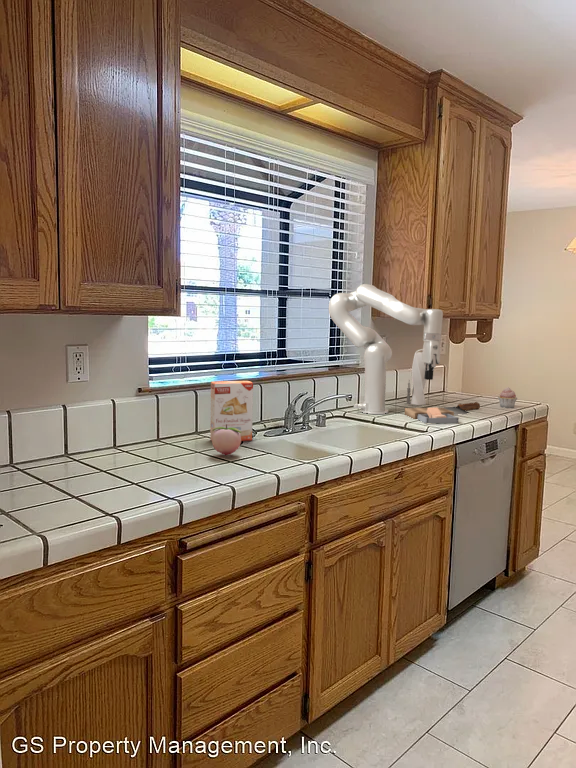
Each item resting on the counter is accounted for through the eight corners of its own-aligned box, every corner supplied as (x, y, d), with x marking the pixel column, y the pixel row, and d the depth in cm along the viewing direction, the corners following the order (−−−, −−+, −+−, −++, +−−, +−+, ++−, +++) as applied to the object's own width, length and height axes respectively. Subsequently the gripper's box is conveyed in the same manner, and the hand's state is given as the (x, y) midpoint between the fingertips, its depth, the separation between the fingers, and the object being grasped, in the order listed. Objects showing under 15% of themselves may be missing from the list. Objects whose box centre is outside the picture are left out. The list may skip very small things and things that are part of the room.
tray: (426, 424, 237) (426, 418, 237) (417, 419, 247) (417, 414, 247) (458, 423, 239) (458, 417, 239) (447, 419, 249) (448, 413, 249)
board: (414, 419, 247) (414, 412, 247) (404, 414, 259) (404, 408, 259) (453, 418, 250) (454, 412, 250) (442, 414, 262) (442, 407, 262)
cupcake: (518, 406, 287) (520, 387, 286) (514, 409, 279) (516, 388, 278) (499, 405, 292) (500, 385, 291) (494, 407, 284) (496, 387, 283)
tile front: (431, 414, 243) (431, 420, 243) (436, 416, 238) (436, 422, 239) (441, 414, 244) (441, 419, 244) (446, 416, 239) (446, 421, 239)
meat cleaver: (447, 418, 253) (447, 409, 253) (427, 414, 263) (428, 406, 262) (494, 412, 273) (494, 404, 272) (474, 409, 282) (474, 401, 281)
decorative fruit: (210, 459, 176) (209, 427, 175) (212, 452, 184) (212, 421, 183) (240, 459, 176) (240, 427, 175) (242, 452, 184) (242, 422, 183)
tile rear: (430, 418, 244) (431, 414, 243) (426, 412, 248) (427, 407, 246) (440, 418, 245) (441, 413, 243) (436, 411, 248) (437, 407, 247)
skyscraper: (417, 403, 294) (419, 348, 291) (429, 405, 287) (431, 349, 284) (405, 404, 289) (407, 349, 286) (417, 406, 283) (420, 350, 279)
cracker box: (214, 443, 197) (214, 383, 194) (210, 440, 202) (209, 381, 200) (253, 440, 202) (253, 381, 199) (247, 437, 207) (248, 380, 205)
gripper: (447, 339, 242) (443, 382, 245) (433, 336, 257) (430, 377, 259) (430, 338, 241) (426, 381, 244) (417, 336, 256) (414, 377, 258)
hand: (428, 379), depth 251 cm, fingers closed
